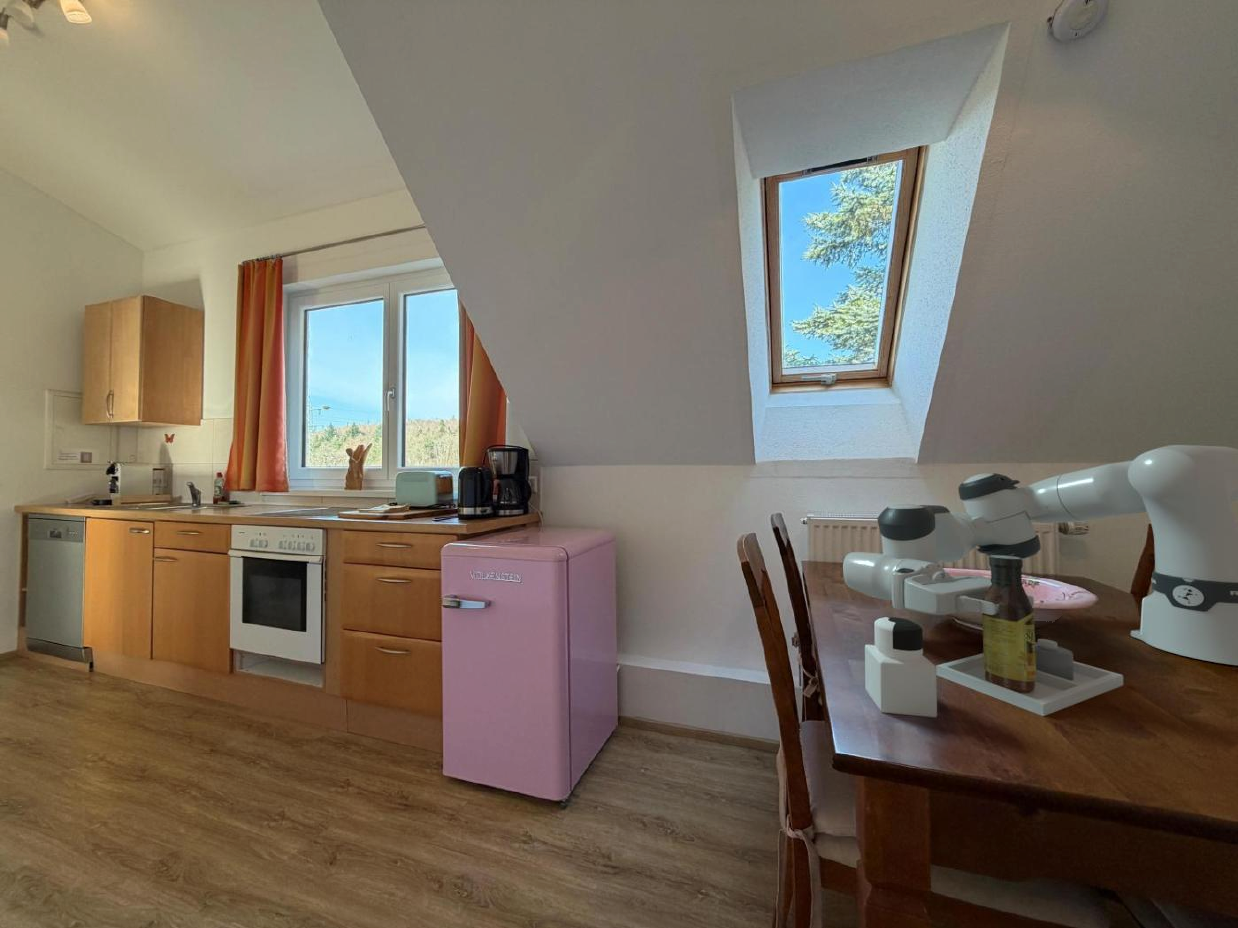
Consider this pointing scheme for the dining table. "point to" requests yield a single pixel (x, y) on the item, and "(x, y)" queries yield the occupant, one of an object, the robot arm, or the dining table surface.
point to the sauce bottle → (1009, 628)
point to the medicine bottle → (900, 669)
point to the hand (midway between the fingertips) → (1014, 605)
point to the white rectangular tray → (1048, 688)
